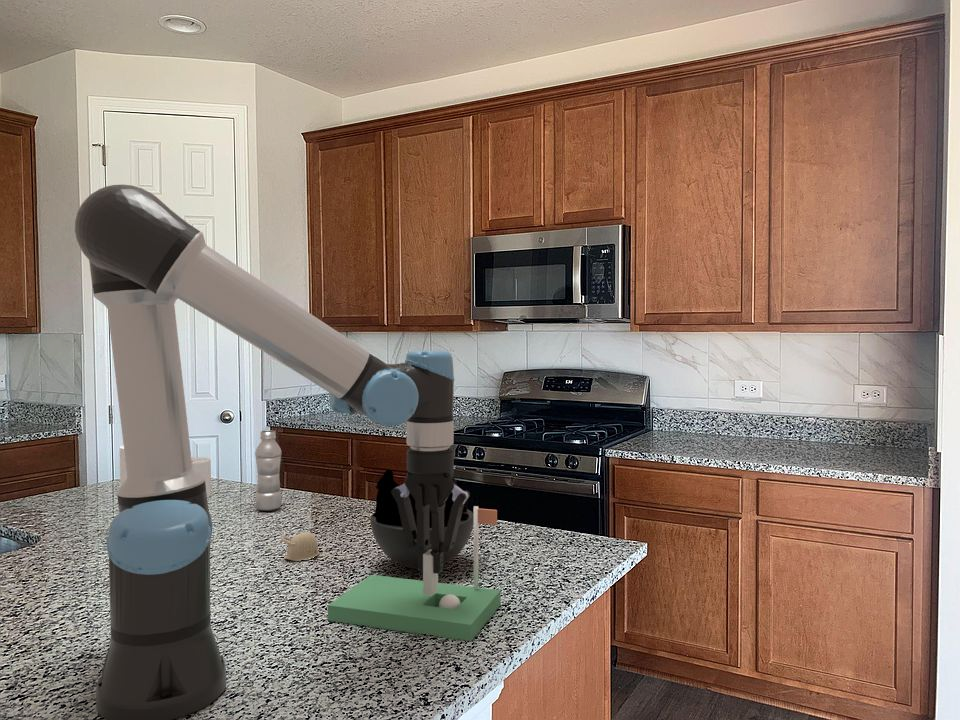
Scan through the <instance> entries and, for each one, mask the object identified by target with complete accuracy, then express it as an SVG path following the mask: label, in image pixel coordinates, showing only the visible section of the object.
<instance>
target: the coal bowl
mask: <svg viewBox="0 0 960 720" xmlns="http://www.w3.org/2000/svg"><path fill="white" fill-rule="evenodd" d="M455 480H456V486H458V487H459V488H460V489H462V490H463V488H464V486H463V483H461V481H459V480H458V479H457V478H455ZM399 486H400V484H398V483H397V482H396V481H395V479H394V472H393V470H392V469H386V470H385V471H384V472H383V474H382V477H381V478H380V479H379V480H378V481H377V483H376V487H375V488H376V489H377V493H376V499H375V500H376V503H375V512H373V513H372V514H371V516H370V520H369V521H370V527H371V532H372V535H373V538H374V539H375V541H376V544H377V545H378V546H379V548H380V550H381V551H382V552H383V553H384V554H385V555H386V556H387V558H389V559H390V560H392V561H393V562H395V563H397V564H398V565H401V566H403V567H405V568H409V569H413V570H414V569H415V570H418V552H417V551H416V550H415V549H413V548H408V547H407V545H406V540H405V536H404V531H403V527H402V523H401V518H400V514H399V509H398V505H397V502H396V500H395V499H394V497H393V495H392V493H391V491H392V490H393V489H394V488H397V487H399ZM452 497H453V493H451V494H450V496H449V497H448V498H447V500H446V501H445V509H444V538H445V533H446V529H447V525H448V520H449V516H450V512H451V508H452V505H453V503H454V501H453V500H452ZM409 498H410V502H411V506H412V510H413V515H414V519H415V524H416V528H417V511H416V509H415V500H414V498H413V497H412V495H411V493H410V492H409ZM473 530H474V511H472V510H470V509H468V508H467V501H466V503H465V504H464V507H463V511H462V515H461V520H460V524H459V528H458V533H457V537H456V541H455V545H454V547H453V548H451V549H450V550H449V551H448V552H443V565H444V564H446V563H449V562H450V561H451V560H453V559H454V558H455V557H457V556H458V555H459V553H461V552H462V550H463V549H464V547H465V546H466V545H467V543H468V542H469V539H470V537H471V535H472V532H473ZM429 544H431V546H430V547H429V548H428V550H429V549H431V550H432V513H431V511H430V508H429Z"/></svg>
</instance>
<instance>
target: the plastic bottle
mask: <svg viewBox="0 0 960 720" xmlns="http://www.w3.org/2000/svg"><path fill="white" fill-rule="evenodd" d="M259 439H260V440H261V441H260V443H258V445H257V446H256V448H255V454H254V455H255V456H254V457H255V461H256V462H255V463H256V470H257V471H256V472H257V483H256V485H257V487H256V492H255V493H256V494H255V500H254V501H255V506H256V508H257V510H259V511H266V512H269V511H270V512H271V511H274V510H277V509H280V507H281V506H282V501H283V496H282V490H281V482H280V470H281V468H280V467H281V461H282V459H281V458H282V449H281V447H280V445H279V443H277V441H276V439H277V436H276V430H273V429H271V430H268V429H267V430H261V431H260V438H259Z"/></svg>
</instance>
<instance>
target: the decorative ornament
mask: <svg viewBox="0 0 960 720" xmlns="http://www.w3.org/2000/svg"><path fill="white" fill-rule="evenodd" d="M280 539H281V541H282V542H283V543H284V544H286V545H287V549H286V556H284V558H283V560H290V561H293V562H295V561H296V562H302V561H301V560H305V559H309V558H313V557H315V556H317V557H318V555H320V551H319V546H318V545H319V544H318V543H319V542H318V539H317V537H316V536H315V534H313V533H312V532H308V531H307V532H302V533H298V534H296V535H294V536H293V537H292V538H290V537H288V536H285V535H282V536H281V537H280ZM315 558H316V557H315Z"/></svg>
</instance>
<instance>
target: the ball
mask: <svg viewBox="0 0 960 720" xmlns="http://www.w3.org/2000/svg"><path fill="white" fill-rule="evenodd" d="M460 604H461V603H460V600H459V599H458V597H456V596H455V595H452V594H448V595H445V596H444V597H442V599H441V600H440V602H439V607H440V608H448V609H456V608H457V607H458V606H459V605H460Z"/></svg>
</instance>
